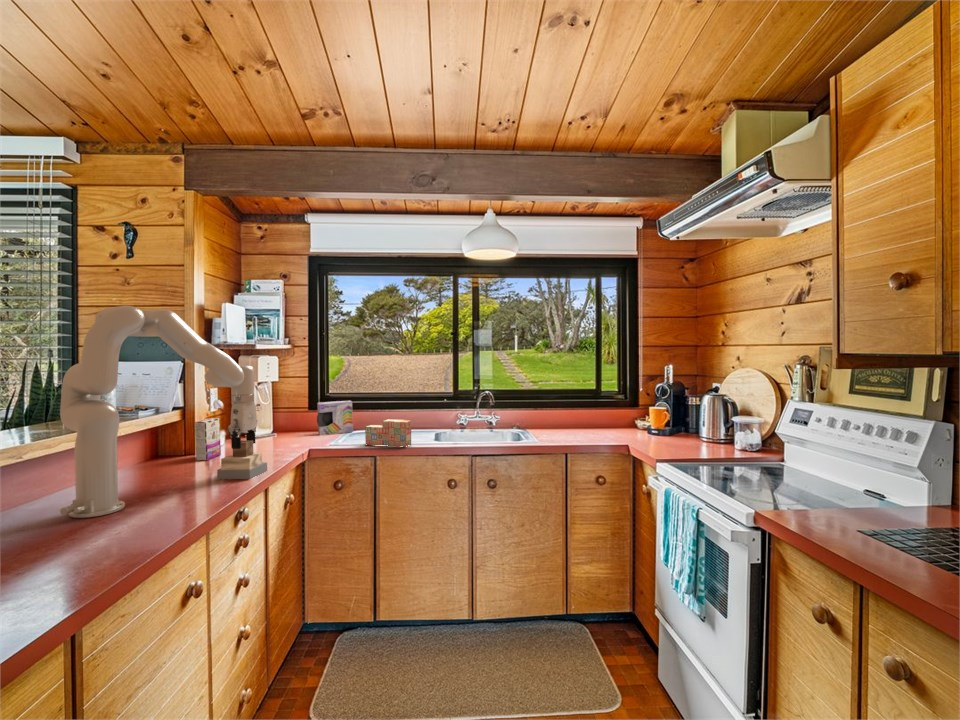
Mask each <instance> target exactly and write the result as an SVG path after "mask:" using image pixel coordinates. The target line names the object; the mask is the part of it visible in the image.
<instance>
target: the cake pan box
mask: <svg viewBox="0 0 960 720" xmlns="http://www.w3.org/2000/svg"><path fill="white" fill-rule="evenodd" d="M316 404H317V416H316V423H317V431H318V435H319V436H326V435H327V436H328V435H336V434H344V433H353V432H354V423H353V422H354V421H353V420H354V418H353V414H354V413H353V401H352V400H341V401H340V400H336V401H325V402H317V403H316Z"/></svg>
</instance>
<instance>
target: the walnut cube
mask: <svg viewBox="0 0 960 720" xmlns="http://www.w3.org/2000/svg"><path fill="white" fill-rule="evenodd" d="M253 453H254V444H253V441H247V440H241V448H240V449H232V454H233V457H247V456H250V455H252V454H253Z"/></svg>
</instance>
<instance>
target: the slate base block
mask: <svg viewBox="0 0 960 720" xmlns="http://www.w3.org/2000/svg"><path fill="white" fill-rule="evenodd" d="M216 471H217V472H216V473H217V476H216V477H217V479H251V478H253V477H255V476H257V477H258V475H259V476H261V475H263V474H265V473H267V472H268V462H264V461H262V463H261V464H259V465H257V466H256V467H254V468H252V469H250V470H221V468H219V469H217V470H216ZM266 471H267V472H266ZM264 472H265V473H264ZM262 473H263V474H262ZM260 474H261V475H260ZM255 478H256V477H255ZM253 479H254V478H253ZM251 480H252V479H251Z"/></svg>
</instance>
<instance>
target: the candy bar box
mask: <svg viewBox="0 0 960 720" xmlns="http://www.w3.org/2000/svg"><path fill="white" fill-rule="evenodd" d="M220 419H221V418H217V417H216V418H212V417H210V418H206V419H203V420H199V421H195V422H194V434H195V435H194V438H195V460H207V461H210V460H212V459H214V457H215V458H217V457H219V455H220V456H221V455H222V453H221V451H222V449H221V426H220V425H221V423H220V422H221V421H220ZM209 459H210V460H209Z"/></svg>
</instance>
